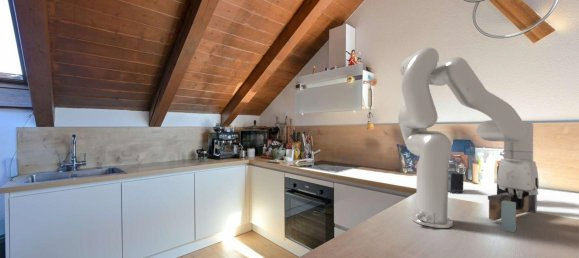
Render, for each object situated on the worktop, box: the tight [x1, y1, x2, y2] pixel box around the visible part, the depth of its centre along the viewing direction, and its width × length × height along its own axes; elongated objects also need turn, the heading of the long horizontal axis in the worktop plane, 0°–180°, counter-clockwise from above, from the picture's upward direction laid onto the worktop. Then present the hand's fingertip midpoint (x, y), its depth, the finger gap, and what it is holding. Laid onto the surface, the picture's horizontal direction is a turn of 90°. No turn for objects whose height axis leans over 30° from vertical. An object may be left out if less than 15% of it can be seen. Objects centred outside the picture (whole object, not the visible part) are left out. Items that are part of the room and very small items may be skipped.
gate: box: [487, 191, 531, 221], centre depth 93 cm, size 27×2×8 cm, turn 116°
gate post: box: [528, 195, 538, 214], centre depth 100 cm, size 4×4×13 cm
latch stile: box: [500, 200, 517, 233], centre depth 81 cm, size 3×3×9 cm
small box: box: [448, 170, 465, 195], centre depth 134 cm, size 11×6×10 cm, turn 168°
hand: (517, 208), depth 87 cm, fingers closed
